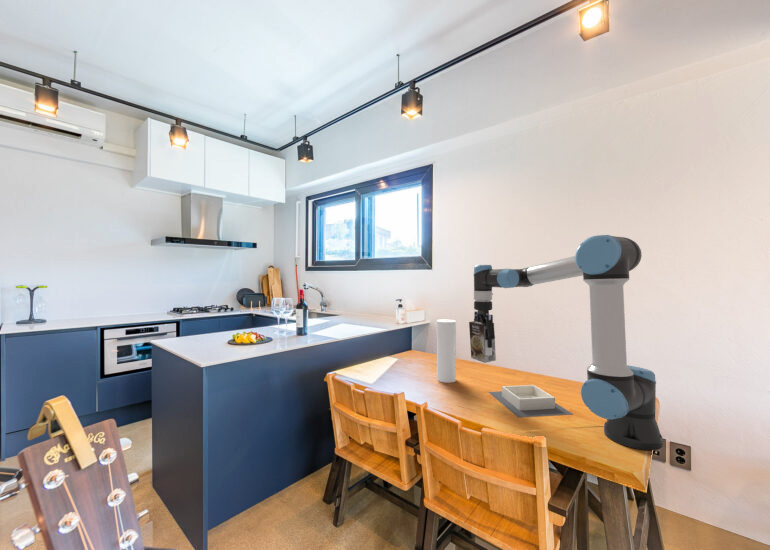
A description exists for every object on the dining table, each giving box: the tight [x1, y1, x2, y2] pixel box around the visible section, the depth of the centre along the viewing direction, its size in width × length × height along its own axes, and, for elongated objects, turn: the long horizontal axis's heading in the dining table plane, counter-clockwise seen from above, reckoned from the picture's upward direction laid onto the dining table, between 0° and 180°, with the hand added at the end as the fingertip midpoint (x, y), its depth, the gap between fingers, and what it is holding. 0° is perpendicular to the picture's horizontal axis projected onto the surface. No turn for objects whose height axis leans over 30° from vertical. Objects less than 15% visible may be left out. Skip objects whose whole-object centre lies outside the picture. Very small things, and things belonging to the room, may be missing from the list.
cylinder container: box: [436, 318, 457, 384], centre depth 165 cm, size 9×9×30 cm
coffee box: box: [468, 320, 497, 364], centre depth 142 cm, size 9×6×16 cm
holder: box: [501, 384, 556, 410], centre depth 135 cm, size 15×15×4 cm
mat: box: [488, 390, 574, 419], centre depth 135 cm, size 26×22×1 cm
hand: (483, 352), depth 142 cm, fingers closed on coffee box, 10 cm apart
